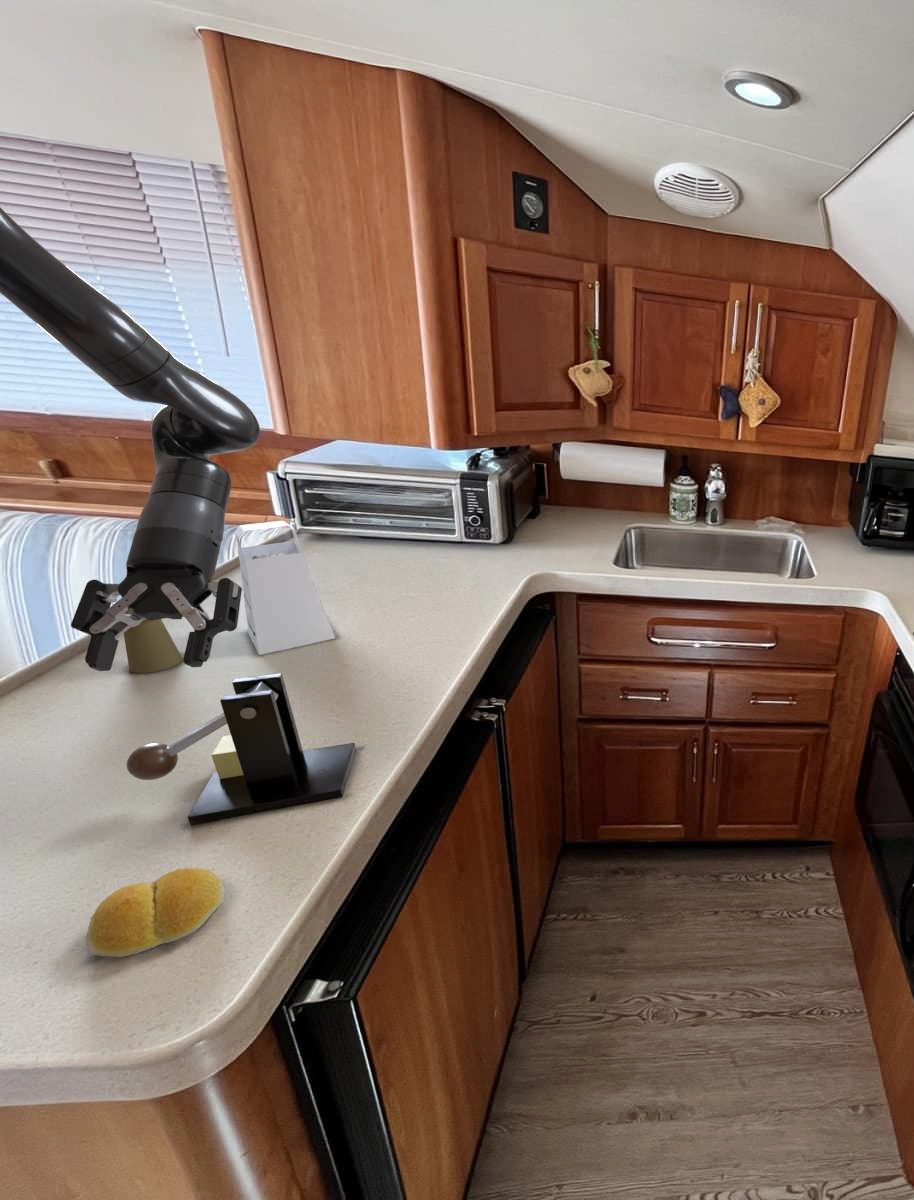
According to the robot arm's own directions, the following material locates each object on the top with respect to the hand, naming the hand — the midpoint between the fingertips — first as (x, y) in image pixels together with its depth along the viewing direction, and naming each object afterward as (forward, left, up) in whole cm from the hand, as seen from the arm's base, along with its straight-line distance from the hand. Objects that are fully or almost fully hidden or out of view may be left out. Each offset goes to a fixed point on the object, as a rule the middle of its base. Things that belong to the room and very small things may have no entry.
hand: (146, 667), depth 71 cm
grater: (+2, +40, -15) cm, 43 cm away
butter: (+6, -1, -14) cm, 15 cm away
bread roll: (+5, -24, -15) cm, 29 cm away
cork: (-14, +34, -15) cm, 40 cm away
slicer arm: (+6, -5, -8) cm, 11 cm away
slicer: (+10, -5, -15) cm, 19 cm away
